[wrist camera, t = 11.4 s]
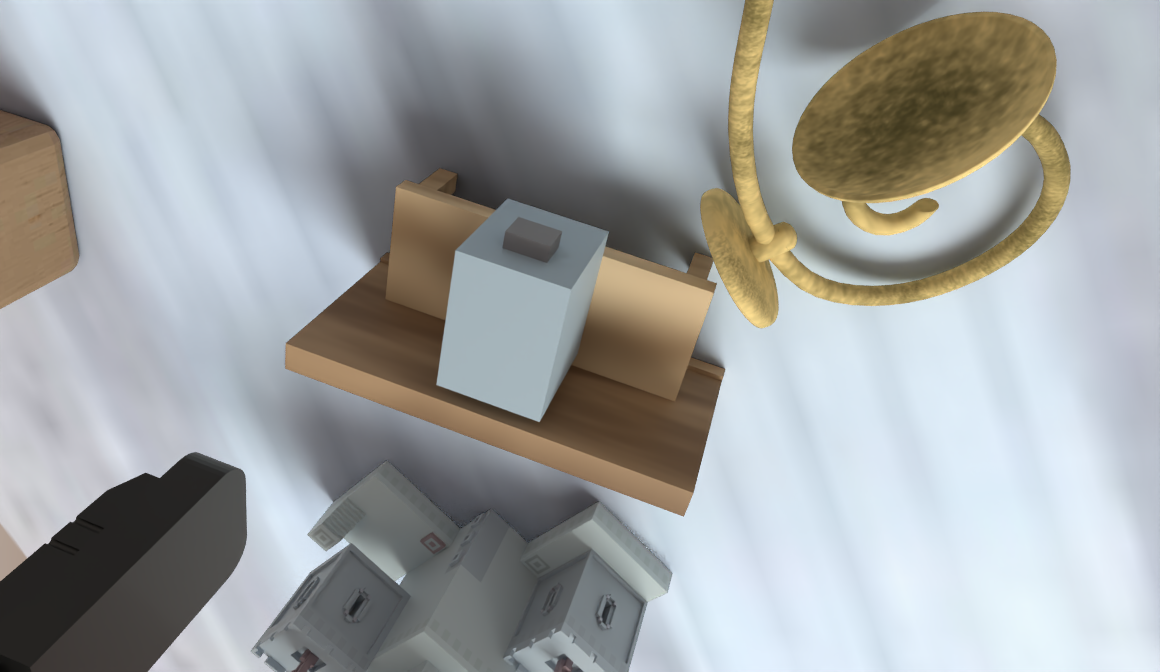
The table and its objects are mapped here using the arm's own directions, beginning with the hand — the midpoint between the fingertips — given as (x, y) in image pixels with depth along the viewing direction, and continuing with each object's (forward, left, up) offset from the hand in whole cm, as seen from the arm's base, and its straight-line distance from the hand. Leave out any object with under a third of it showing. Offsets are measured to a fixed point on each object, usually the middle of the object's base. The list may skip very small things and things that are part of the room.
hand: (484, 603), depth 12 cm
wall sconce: (+6, +12, -30) cm, 32 cm away
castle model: (+33, -6, -30) cm, 45 cm away
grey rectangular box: (+10, -6, -26) cm, 29 cm away
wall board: (+13, -6, -30) cm, 33 cm away
